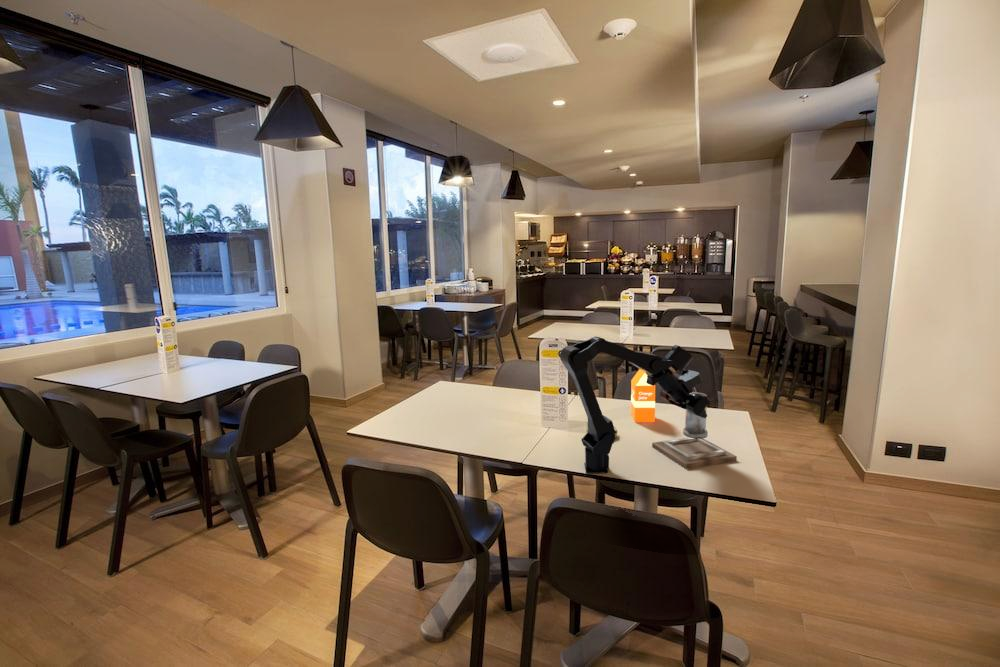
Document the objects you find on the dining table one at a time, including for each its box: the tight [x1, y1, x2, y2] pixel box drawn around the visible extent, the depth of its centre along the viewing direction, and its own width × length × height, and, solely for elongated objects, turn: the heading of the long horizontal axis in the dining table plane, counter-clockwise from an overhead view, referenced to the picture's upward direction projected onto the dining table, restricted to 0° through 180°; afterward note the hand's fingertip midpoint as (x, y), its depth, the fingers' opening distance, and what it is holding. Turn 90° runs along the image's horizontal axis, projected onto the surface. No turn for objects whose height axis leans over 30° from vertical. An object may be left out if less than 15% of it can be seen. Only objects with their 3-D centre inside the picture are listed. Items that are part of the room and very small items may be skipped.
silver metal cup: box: [682, 391, 709, 439], centre depth 151 cm, size 7×7×13 cm
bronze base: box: [651, 437, 738, 470], centre depth 154 cm, size 18×18×2 cm
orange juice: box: [630, 368, 656, 423], centre depth 187 cm, size 8×9×20 cm
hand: (699, 414), depth 151 cm, fingers closed on silver metal cup, 6 cm apart
